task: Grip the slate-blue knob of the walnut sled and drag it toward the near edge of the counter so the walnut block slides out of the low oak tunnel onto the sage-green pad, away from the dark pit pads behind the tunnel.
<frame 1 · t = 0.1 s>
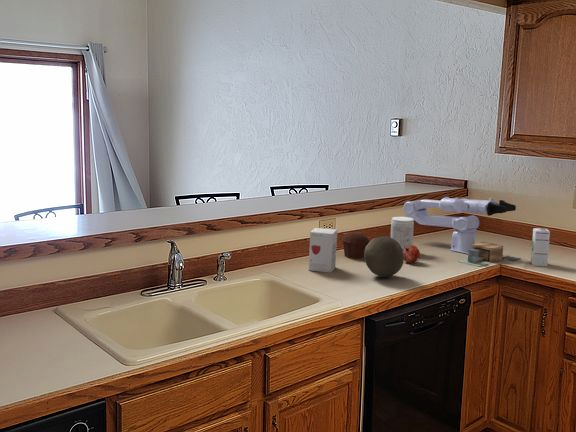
hand: (510, 208, 254), 22 cm above the worktop, tool horizontal, fingers open, 7 cm apart
pit left: (491, 254, 267), on the worktop
supplement box: (322, 269, 236), on the worktop
muffin: (355, 256, 258), on the worktop
tunnel: (486, 258, 259), on the worktop
sled: (482, 253, 256), point 3 cm above the worktop, slide at 0.0 cm
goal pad: (474, 262, 252), on the worktop
pomegranate: (410, 263, 249), on the worktop
supplement tub: (400, 252, 268), on the worktop
syrup box: (538, 264, 252), on the worktop
pit right: (510, 258, 261), on the worktop
cantaloupe: (382, 277, 226), on the worktop
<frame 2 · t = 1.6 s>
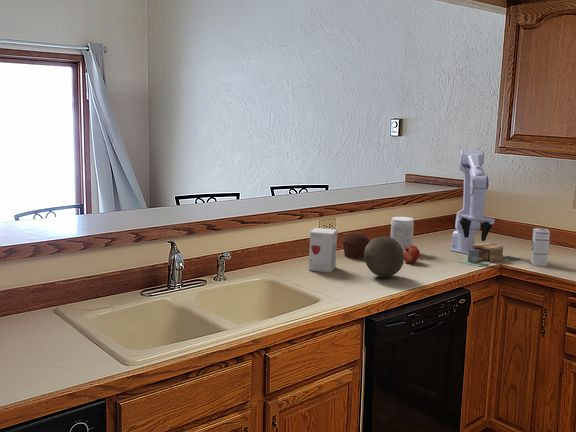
hand: (474, 239, 250), 10 cm above the worktop, tool pointing down, fingers open, 7 cm apart
nothing on the worktop moved.
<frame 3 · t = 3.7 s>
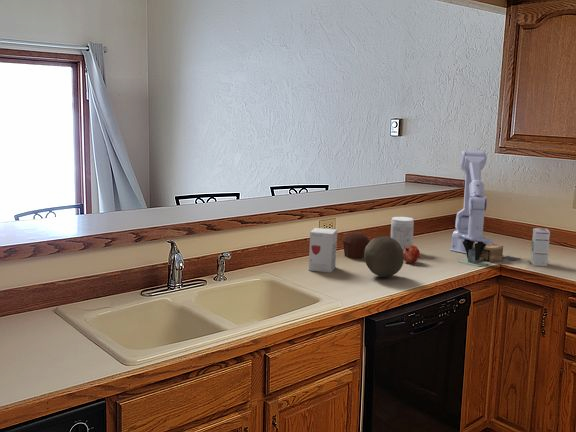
hand: (473, 259, 251), 2 cm above the worktop, tool pointing down, fingers closed on sled, 3 cm apart
sled: (482, 253, 256), point 3 cm above the worktop, slide at 0.0 cm, touching gripper
everything else where it was.
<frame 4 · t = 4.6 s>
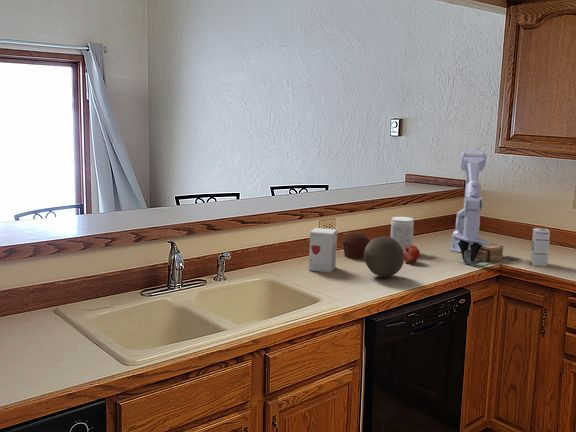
hand: (468, 260, 249), 2 cm above the worktop, tool pointing down, fingers closed on sled, 3 cm apart
sled: (477, 254, 253), point 3 cm above the worktop, slide at 3.3 cm, touching gripper
everything else where it was.
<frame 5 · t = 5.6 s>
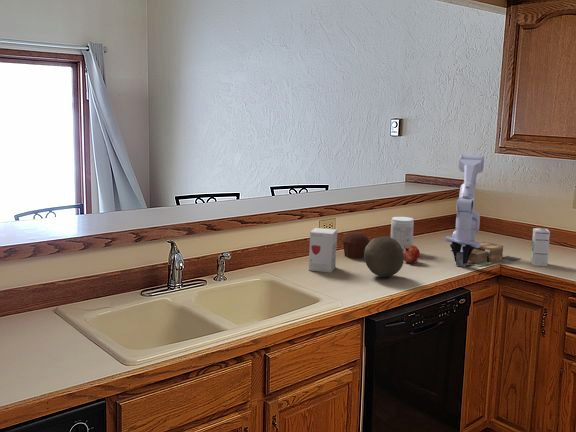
hand: (460, 262, 245), 2 cm above the worktop, tool pointing down, fingers closed on sled, 3 cm apart
sled: (470, 256, 250), point 3 cm above the worktop, slide at 8.9 cm, touching gripper
everything else where it was.
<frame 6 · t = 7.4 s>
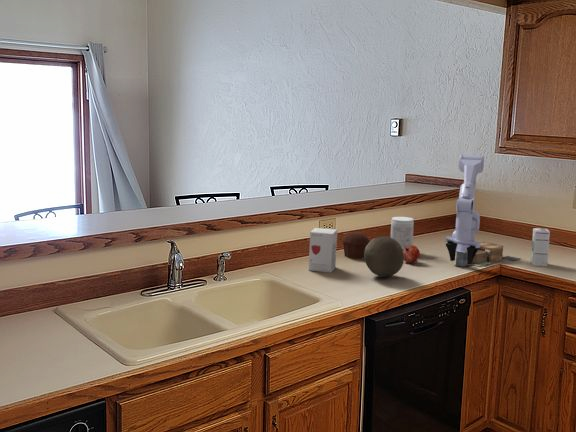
hand: (460, 262, 245), 2 cm above the worktop, tool pointing down, fingers open, 7 cm apart
sled: (470, 256, 250), point 3 cm above the worktop, slide at 9.0 cm
everything else where it was.
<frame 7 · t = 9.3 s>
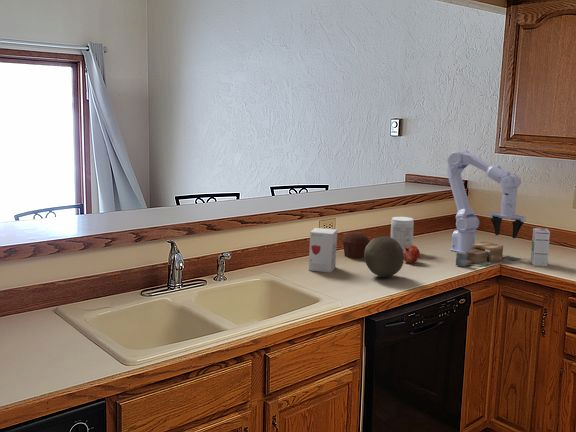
hand: (505, 236, 257), 10 cm above the worktop, tool pointing down, fingers open, 7 cm apart
nothing on the worktop moved.
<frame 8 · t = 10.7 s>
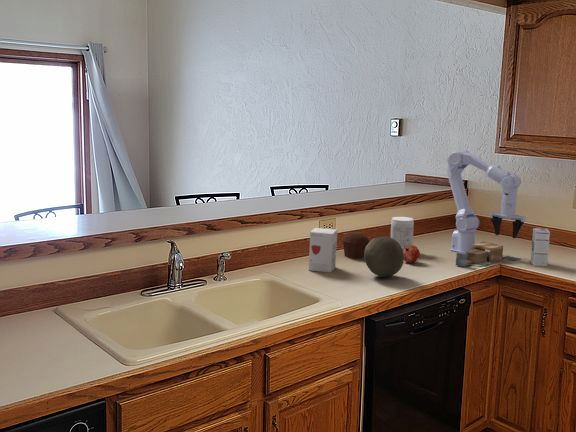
hand: (505, 236, 257), 10 cm above the worktop, tool pointing down, fingers open, 7 cm apart
nothing on the worktop moved.
at the end: sled slide at 9.0 cm; the gripper is holding nothing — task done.
